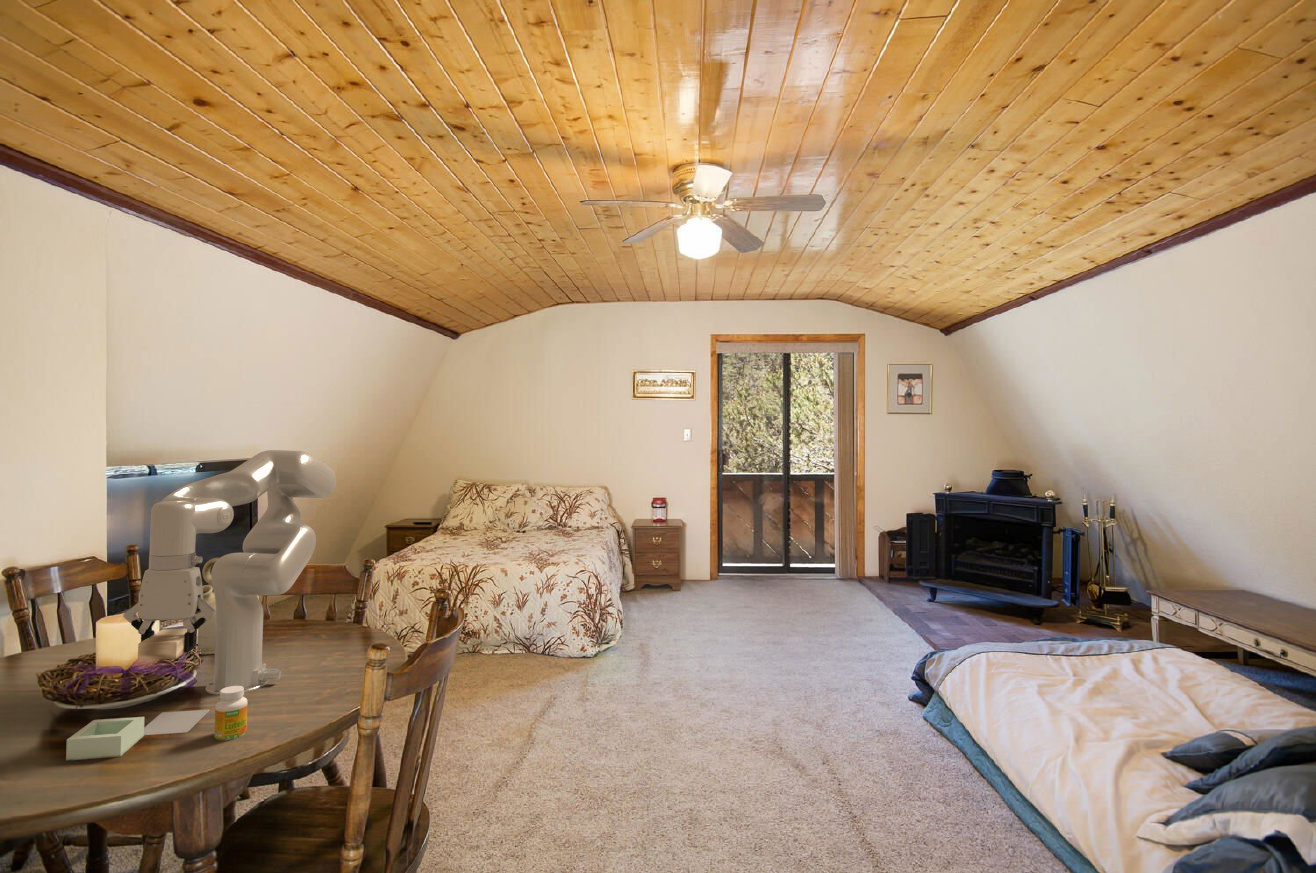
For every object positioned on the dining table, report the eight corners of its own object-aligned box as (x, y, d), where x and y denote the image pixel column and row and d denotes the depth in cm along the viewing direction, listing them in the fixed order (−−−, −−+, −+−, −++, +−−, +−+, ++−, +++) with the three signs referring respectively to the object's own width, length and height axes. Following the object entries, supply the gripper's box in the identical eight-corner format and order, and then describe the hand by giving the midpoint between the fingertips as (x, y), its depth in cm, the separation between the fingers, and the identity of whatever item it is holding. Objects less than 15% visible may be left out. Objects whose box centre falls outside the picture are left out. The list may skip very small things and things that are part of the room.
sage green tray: (143, 739, 130) (144, 716, 130) (120, 760, 122) (121, 735, 122) (93, 743, 128) (93, 720, 128) (66, 764, 120) (66, 739, 120)
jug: (210, 660, 175) (213, 564, 174) (167, 652, 179) (170, 559, 179) (261, 643, 189) (263, 555, 189) (220, 636, 194) (222, 550, 194)
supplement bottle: (222, 747, 128) (224, 696, 128) (208, 739, 131) (210, 690, 131) (252, 737, 133) (253, 688, 133) (238, 729, 135) (239, 682, 135)
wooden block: (197, 643, 140) (198, 628, 141) (176, 658, 131) (176, 642, 131) (161, 645, 139) (162, 629, 139) (137, 660, 129) (138, 643, 129)
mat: (210, 713, 143) (210, 709, 143) (187, 736, 132) (187, 732, 132) (161, 716, 141) (161, 712, 141) (134, 739, 130) (134, 735, 130)
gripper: (227, 558, 141) (224, 644, 141) (131, 560, 137) (128, 648, 136) (213, 565, 134) (209, 655, 133) (111, 566, 129) (108, 659, 129)
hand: (168, 650), depth 135 cm, fingers closed on wooden block, 6 cm apart
